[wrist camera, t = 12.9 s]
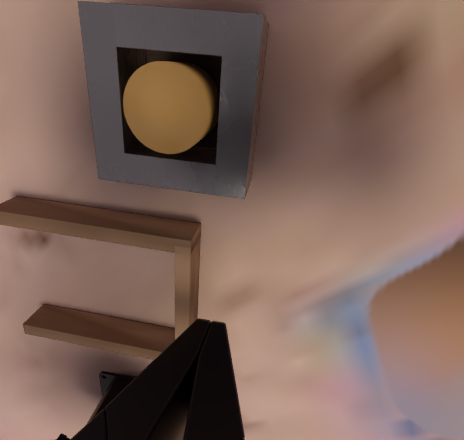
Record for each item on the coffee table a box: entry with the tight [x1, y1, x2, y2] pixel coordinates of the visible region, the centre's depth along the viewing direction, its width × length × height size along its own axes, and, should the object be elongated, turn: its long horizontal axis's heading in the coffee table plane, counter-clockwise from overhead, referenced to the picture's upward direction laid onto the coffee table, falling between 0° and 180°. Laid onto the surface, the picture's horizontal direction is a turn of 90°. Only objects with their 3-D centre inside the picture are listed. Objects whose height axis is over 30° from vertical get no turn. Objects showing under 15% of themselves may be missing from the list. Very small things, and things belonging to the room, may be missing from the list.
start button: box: [123, 61, 220, 154], centre depth 15 cm, size 4×4×3 cm
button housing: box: [78, 1, 269, 199], centre depth 16 cm, size 8×8×3 cm
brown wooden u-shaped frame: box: [0, 196, 201, 360], centre depth 23 cm, size 11×14×2 cm
